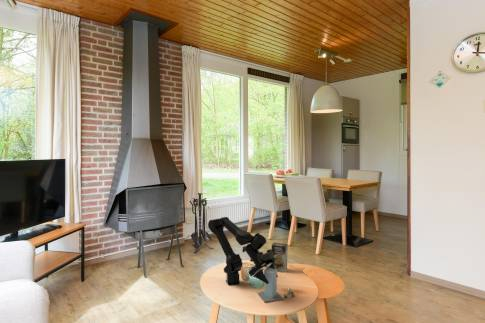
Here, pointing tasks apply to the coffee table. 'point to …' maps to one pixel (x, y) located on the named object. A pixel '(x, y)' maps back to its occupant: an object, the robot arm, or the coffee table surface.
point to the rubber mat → (267, 299)
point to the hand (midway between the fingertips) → (272, 280)
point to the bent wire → (289, 293)
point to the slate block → (270, 283)
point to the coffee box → (280, 256)
